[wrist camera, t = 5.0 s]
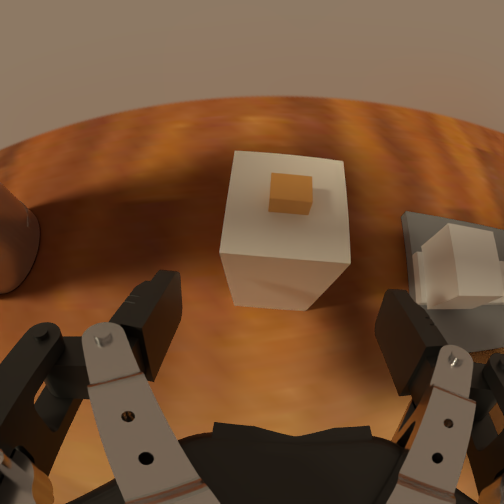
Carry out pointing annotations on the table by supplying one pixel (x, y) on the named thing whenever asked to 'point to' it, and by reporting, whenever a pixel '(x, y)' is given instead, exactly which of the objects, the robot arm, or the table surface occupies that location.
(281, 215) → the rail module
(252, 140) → the table surface
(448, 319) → the rail board
